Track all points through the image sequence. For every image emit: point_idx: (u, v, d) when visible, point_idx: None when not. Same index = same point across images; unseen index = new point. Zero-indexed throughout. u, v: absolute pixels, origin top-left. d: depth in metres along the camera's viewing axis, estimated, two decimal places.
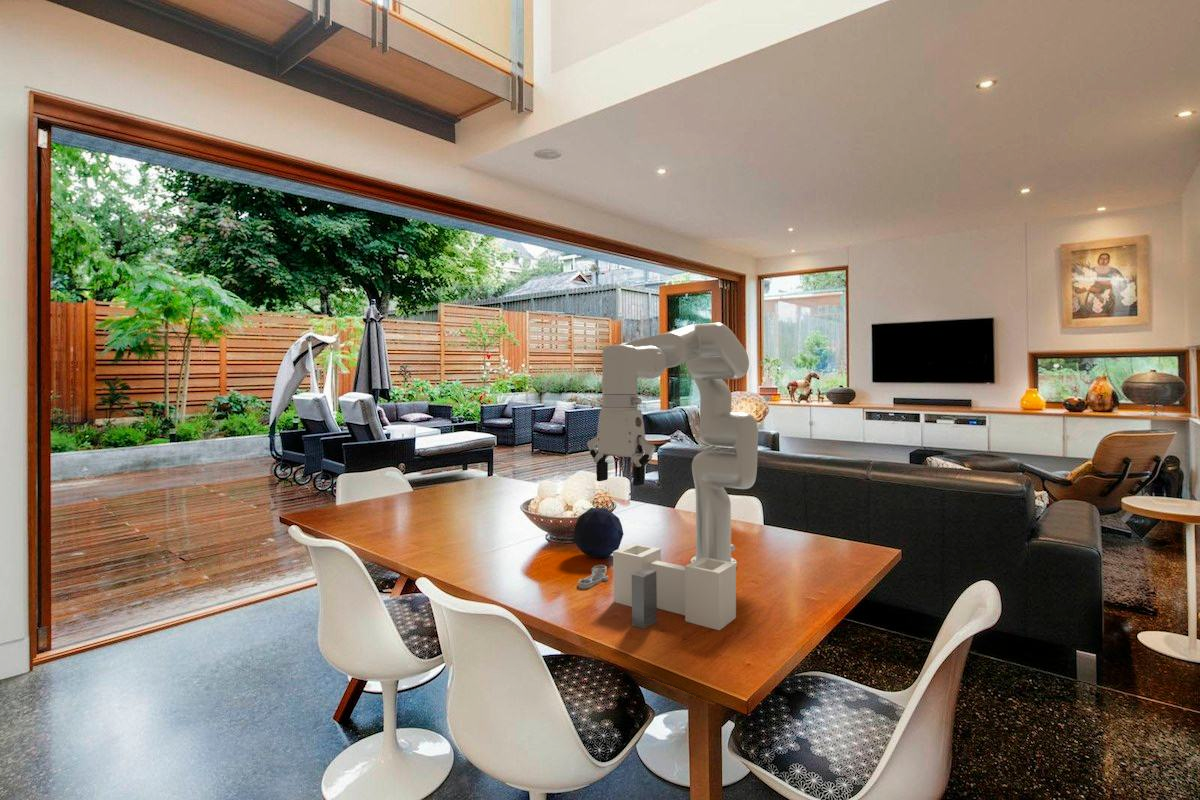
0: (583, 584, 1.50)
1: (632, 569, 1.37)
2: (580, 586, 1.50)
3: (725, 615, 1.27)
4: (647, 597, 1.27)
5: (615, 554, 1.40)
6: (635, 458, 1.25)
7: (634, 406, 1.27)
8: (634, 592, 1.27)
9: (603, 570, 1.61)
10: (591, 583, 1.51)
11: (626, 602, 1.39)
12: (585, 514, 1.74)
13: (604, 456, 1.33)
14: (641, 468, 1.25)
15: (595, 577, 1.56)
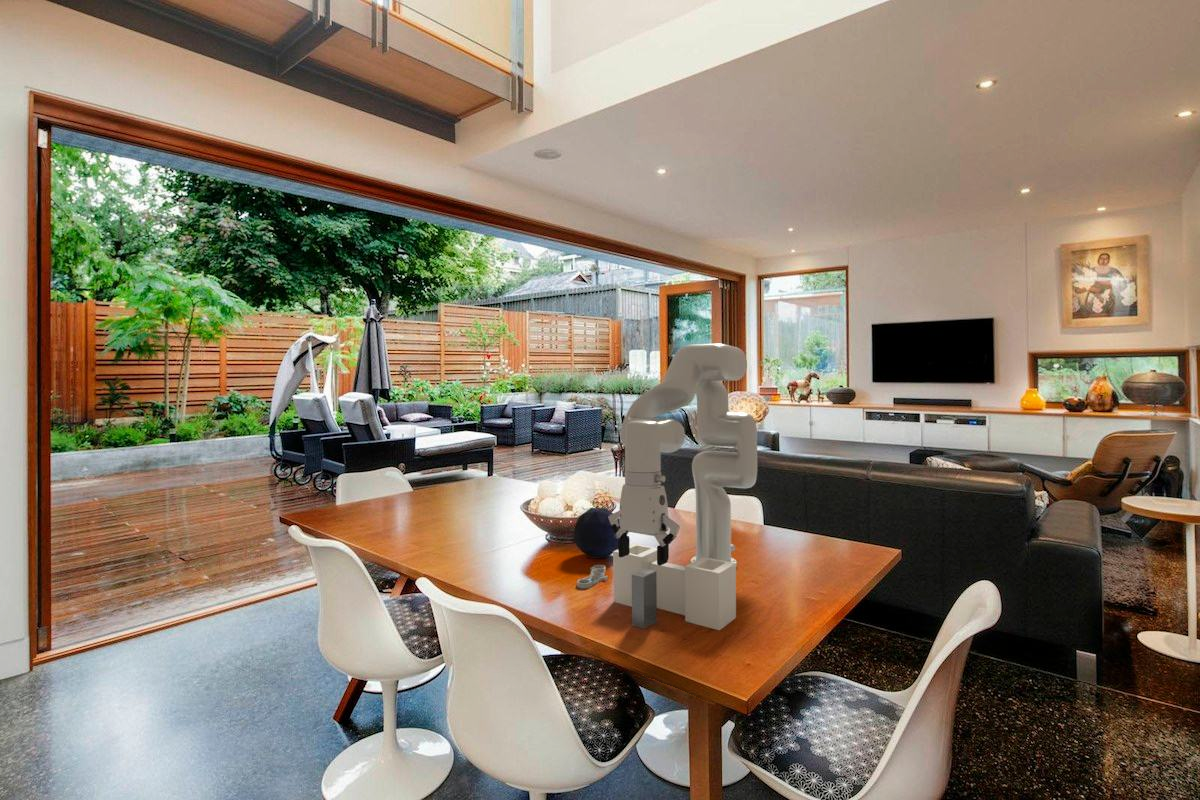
0: (582, 584, 1.50)
1: (632, 569, 1.37)
2: (579, 586, 1.50)
3: (725, 615, 1.27)
4: (647, 597, 1.27)
5: (615, 554, 1.40)
6: (659, 537, 1.23)
7: (658, 483, 1.25)
8: (634, 592, 1.27)
9: (602, 570, 1.62)
10: (590, 583, 1.51)
11: (626, 602, 1.39)
12: (585, 514, 1.74)
13: (626, 531, 1.31)
14: (665, 547, 1.24)
15: (594, 577, 1.56)
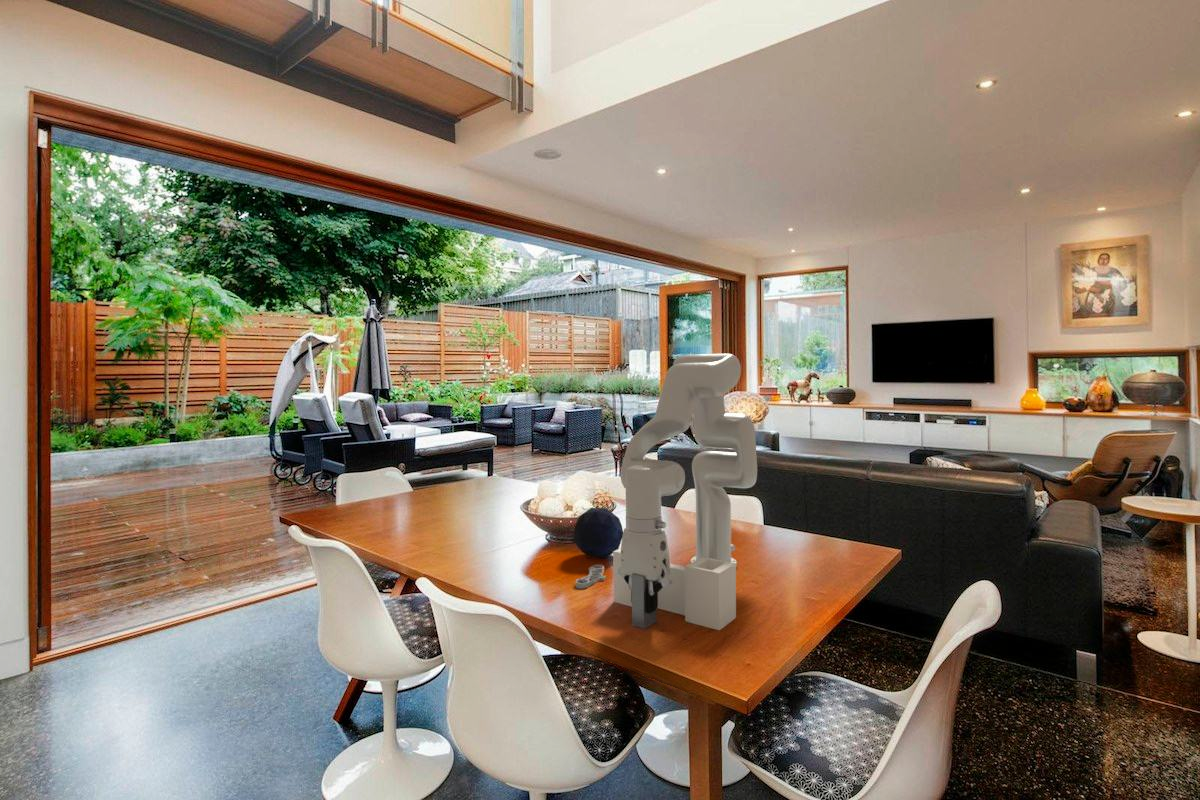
0: (580, 584, 1.50)
1: None
2: (577, 586, 1.51)
3: (725, 615, 1.27)
4: None
5: (615, 554, 1.40)
6: (651, 586, 1.26)
7: (658, 529, 1.26)
8: (634, 592, 1.27)
9: (600, 570, 1.62)
10: (588, 583, 1.51)
11: (626, 602, 1.39)
12: (585, 514, 1.74)
13: None
14: (654, 596, 1.26)
15: (592, 577, 1.56)
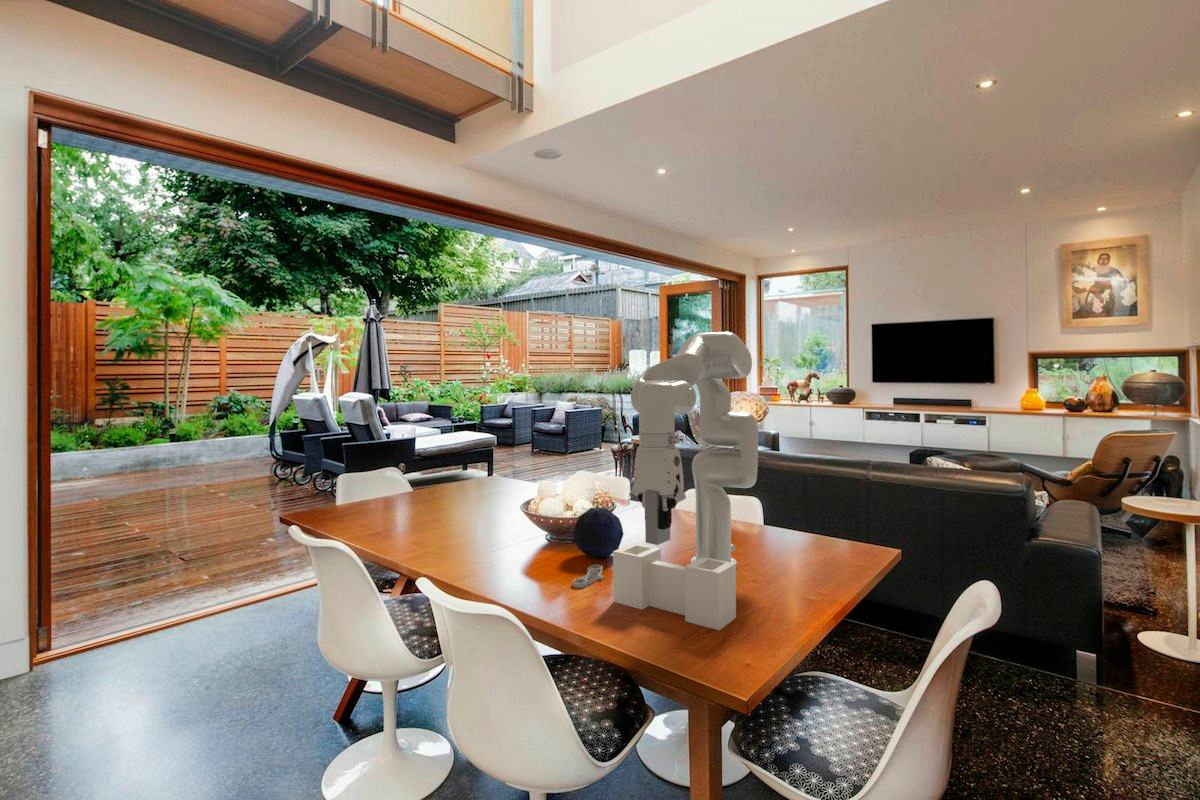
0: (577, 583, 1.50)
1: (632, 569, 1.37)
2: (574, 585, 1.51)
3: (725, 615, 1.27)
4: None
5: (615, 554, 1.40)
6: (665, 502, 1.25)
7: (672, 445, 1.25)
8: (647, 509, 1.27)
9: (599, 570, 1.62)
10: (585, 583, 1.51)
11: (626, 602, 1.39)
12: (585, 514, 1.74)
13: None
14: (668, 512, 1.26)
15: (590, 577, 1.56)
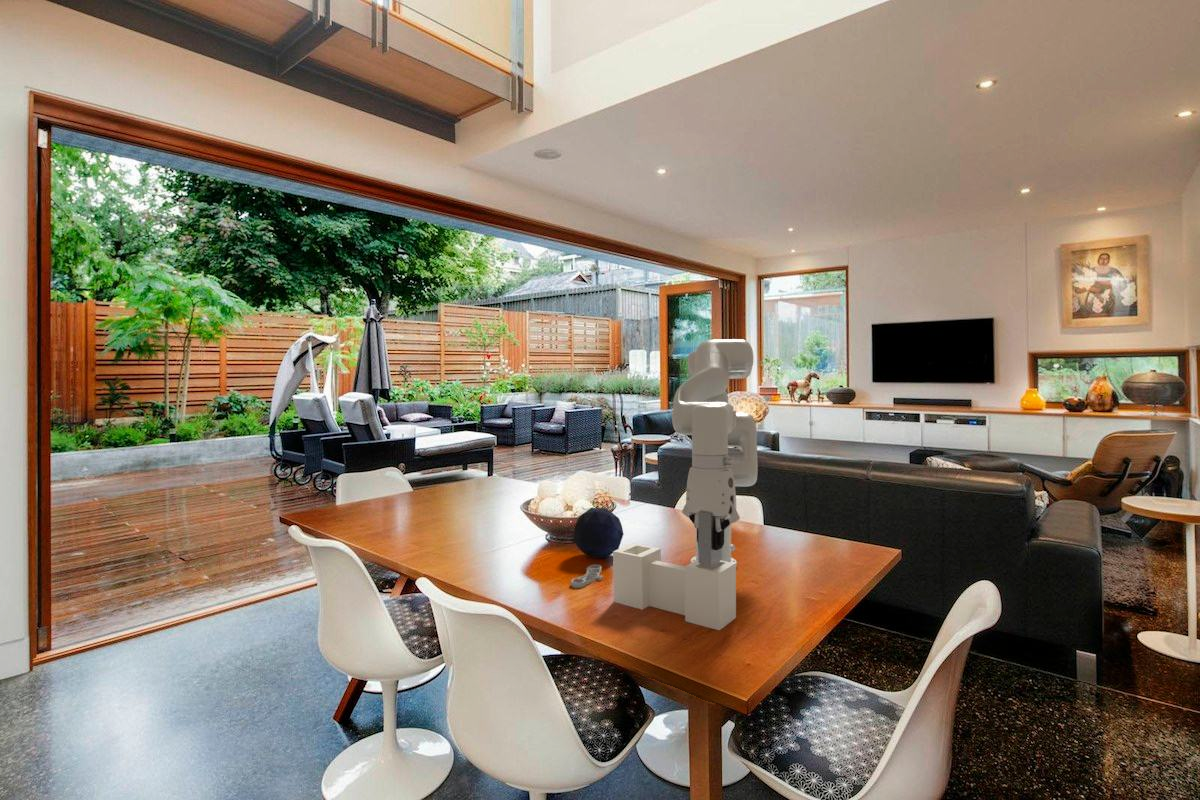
0: (575, 583, 1.51)
1: (632, 569, 1.37)
2: (573, 585, 1.51)
3: (725, 615, 1.27)
4: None
5: (615, 554, 1.40)
6: (718, 523, 1.27)
7: (726, 466, 1.27)
8: (701, 529, 1.28)
9: (598, 570, 1.62)
10: (584, 582, 1.51)
11: (626, 602, 1.39)
12: (585, 514, 1.74)
13: None
14: (721, 533, 1.27)
15: (589, 576, 1.56)
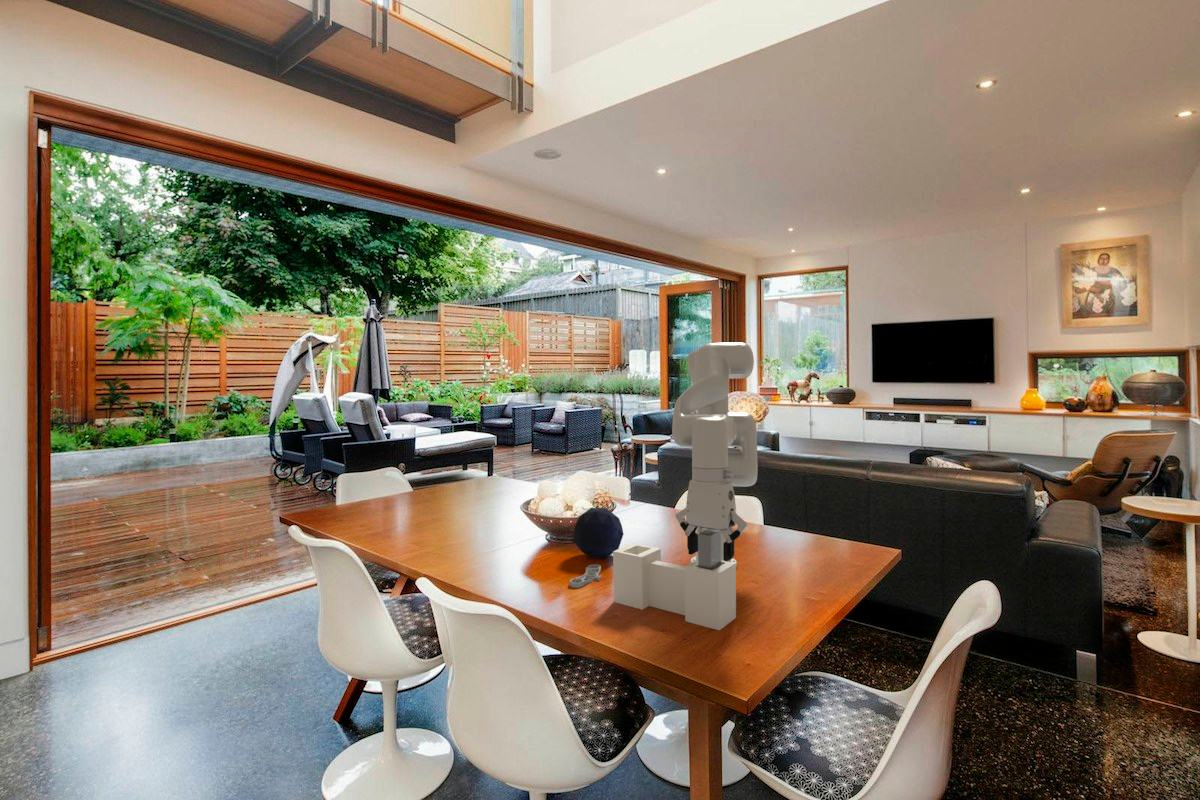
0: (574, 583, 1.51)
1: (632, 569, 1.37)
2: (571, 585, 1.51)
3: (725, 615, 1.27)
4: (714, 556, 1.28)
5: (615, 554, 1.40)
6: (726, 534, 1.26)
7: (726, 479, 1.27)
8: (700, 551, 1.28)
9: (597, 569, 1.62)
10: (582, 582, 1.52)
11: (626, 602, 1.39)
12: (585, 514, 1.74)
13: (694, 528, 1.33)
14: (731, 544, 1.26)
15: (588, 576, 1.57)
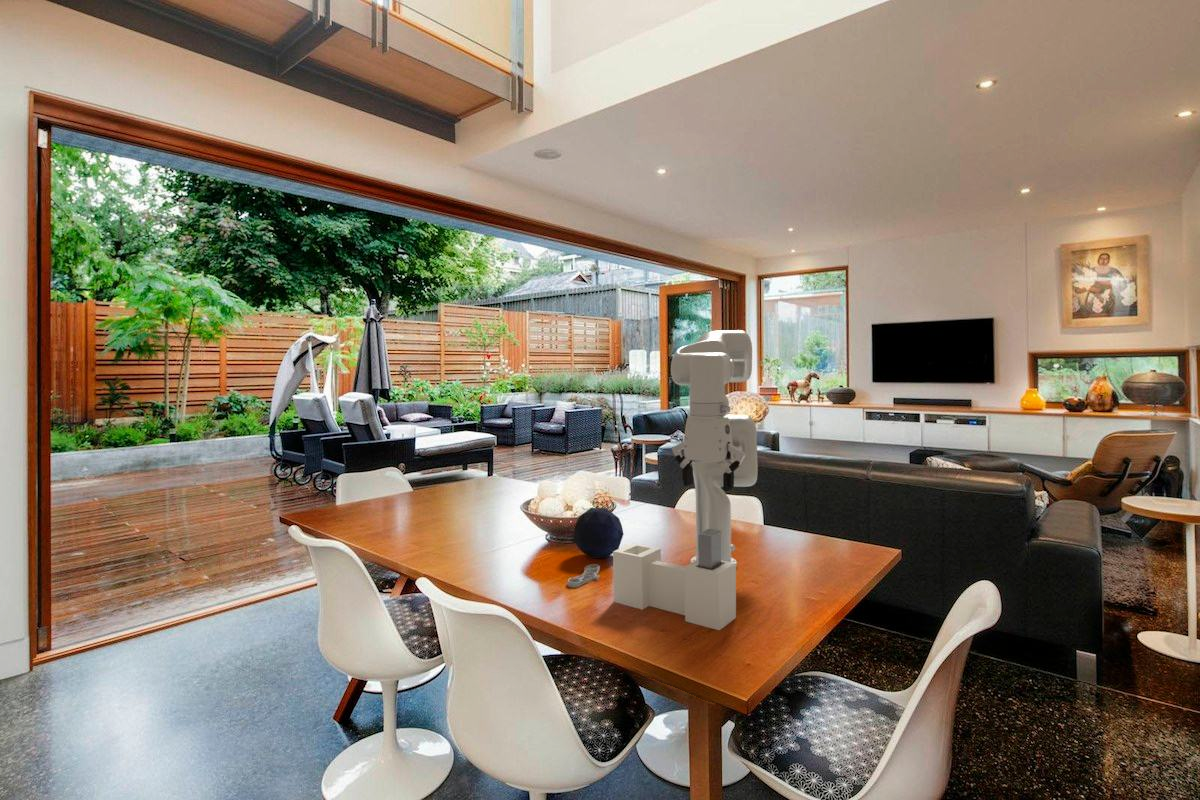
0: (572, 583, 1.51)
1: (632, 569, 1.37)
2: (569, 585, 1.51)
3: (725, 615, 1.27)
4: (714, 556, 1.28)
5: (615, 554, 1.40)
6: (725, 465, 1.29)
7: (723, 414, 1.30)
8: (701, 552, 1.28)
9: (596, 569, 1.62)
10: (580, 582, 1.52)
11: (626, 602, 1.39)
12: (585, 514, 1.74)
13: (689, 461, 1.36)
14: (731, 474, 1.29)
15: (586, 576, 1.57)
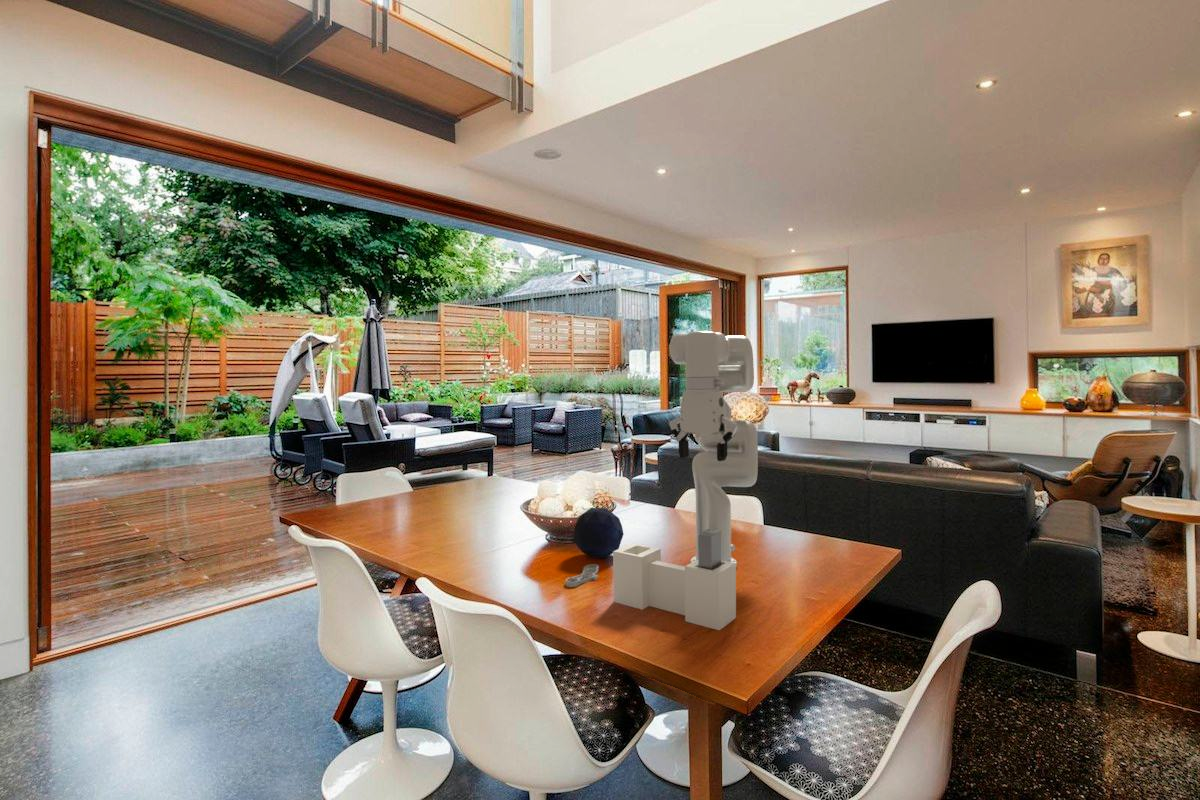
0: (569, 582, 1.51)
1: (632, 569, 1.37)
2: (567, 584, 1.52)
3: (725, 615, 1.27)
4: (714, 556, 1.28)
5: (615, 554, 1.40)
6: (719, 435, 1.36)
7: (716, 388, 1.37)
8: (701, 552, 1.28)
9: (594, 569, 1.62)
10: (578, 582, 1.52)
11: (626, 602, 1.39)
12: (585, 514, 1.74)
13: (685, 435, 1.43)
14: (724, 445, 1.36)
15: (584, 576, 1.57)
